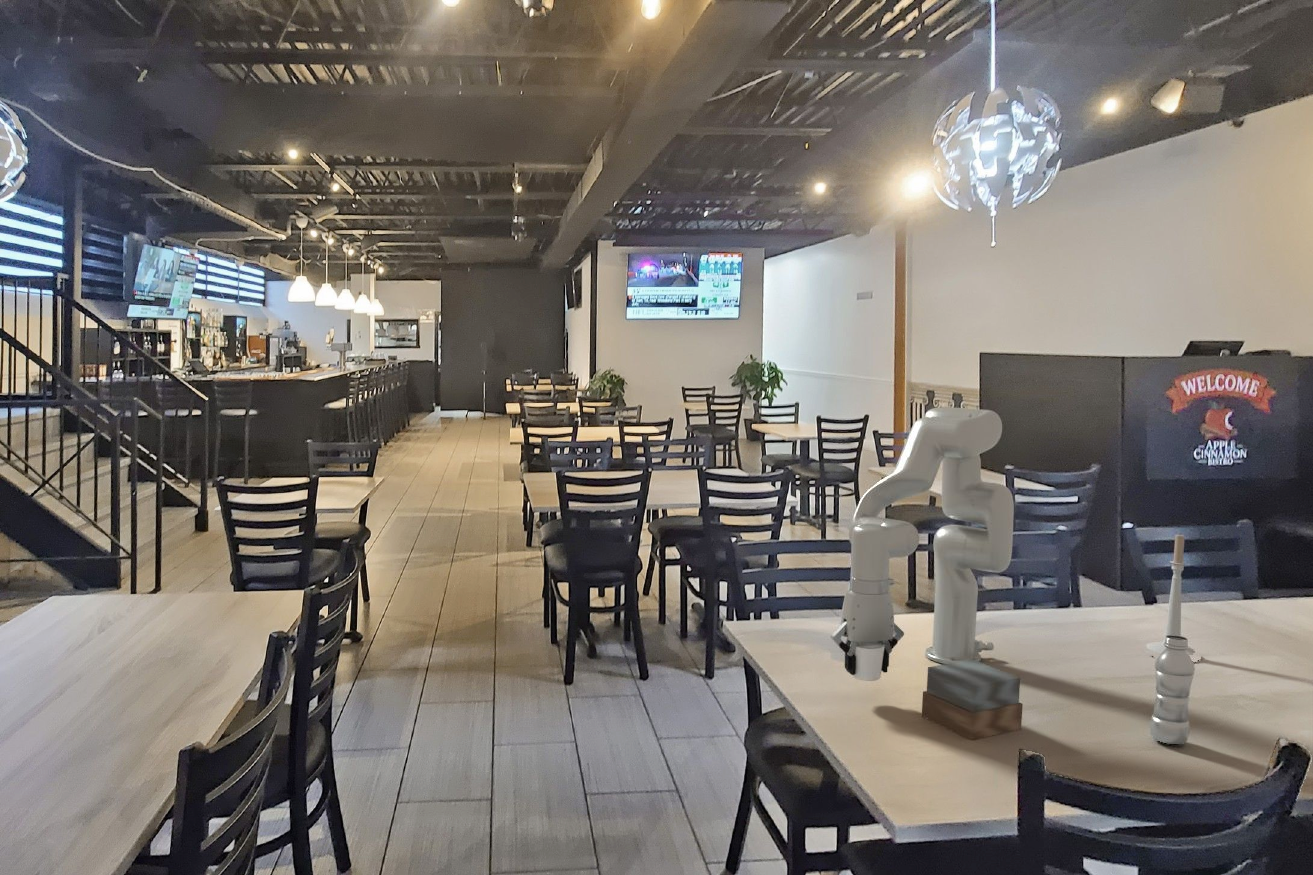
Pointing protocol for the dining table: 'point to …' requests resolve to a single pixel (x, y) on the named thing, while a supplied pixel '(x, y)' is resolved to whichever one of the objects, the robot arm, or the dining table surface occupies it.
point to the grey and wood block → (972, 699)
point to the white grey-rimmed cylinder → (869, 660)
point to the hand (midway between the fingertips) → (866, 670)
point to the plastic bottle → (1172, 692)
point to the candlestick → (1174, 599)
